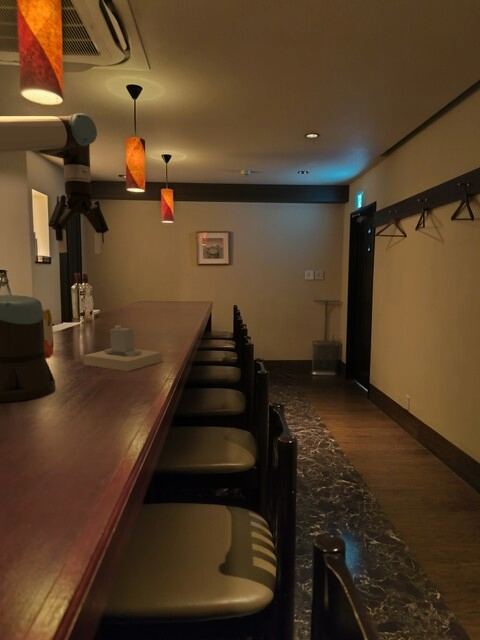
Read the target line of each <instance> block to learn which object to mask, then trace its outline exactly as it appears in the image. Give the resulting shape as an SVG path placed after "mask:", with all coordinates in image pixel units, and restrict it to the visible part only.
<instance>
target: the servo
mask: <svg viewBox="0 0 480 640" xmlns="http://www.w3.org/2000/svg"><path fill="white" fill-rule="evenodd" d="M109 332H110V333H109V335H110V348H106V349H104V351H105V353H111V355H116V356H124V357H126V356H135V355H139V354H141V351H138V350H139V349H137V350H134V349H135V339H134V338H135V337H134V336H135V335H134V328H126V327H122V325H121V324H119V325H117V324H116V325H115V327H114V328H111V329H110V330H109Z"/></svg>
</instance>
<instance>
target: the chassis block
mask: <svg viewBox="0 0 480 640" xmlns="http://www.w3.org/2000/svg"><path fill="white" fill-rule="evenodd" d="M134 350H138V351H141V354H139V355H135V356H126V357H124V356H116V355H111V353H105V350H101V351H97V352H92V353H88V354H87V353H86V354H83V365H84V366H89V365H90V367H96V366H97V367H98V368H103V369H108V370H109V369H111V370H116V371H123V372H131V371H133V370H138V369H142V368H144V367H148V366H151V365H154V364H158V363H161V362H163V358H162V357H163V355H162V354H163V353H162V352H160V351H152V350H145V349H144V350H143V349H135V348H134ZM97 367H96V368H97Z"/></svg>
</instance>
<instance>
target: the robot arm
mask: <svg viewBox="0 0 480 640" xmlns="http://www.w3.org/2000/svg"><path fill="white" fill-rule="evenodd" d="M97 131H98V130H97V127H96V124H95V122H94V120H93V119H92V118H91V117H90V116H89V115H88V114H85V113H82V112H81V113H73V114H71V115H67V116H65V115H64V116H63V115H62V116H60V115H59V116H58V115H57V116H46V115H45V116H44V115H43V116H42V115H41V116H40V115H38V116H27V115H26V116H24V115H23V116H20V115H19V116H12V115H11V116H10V115H9V116H7V115H6V116H4V115H3V116H0V154H5V153H16V152H17V153H18V152H29V151H30V152H34V153H36V154H41V155H45V156H49V157H55V158H59V159H62V162H63V176H64V177H63V179H64V181H65V182H64V192H65V194H60V195H57V196H56V204H55V206H54V209H53V211H52V215H51V217H50V219H49V222H48V227H49V228H52V230H53V231H55V232H54V233H55V240H56V241H57V245H58V246H57V247H58V253H63V254H64V253H68V249H67V248H68V247H67V232H66V229H64V228H65V226H66V225H67V224H68V222H69V220H70V219H71V218H72V216H73V215H74V214H79V215H83V216H84V217H86V219H87V220H88V222H89V223H90V225H91V226H92V228H93V229H94V230H95V233H93V235H94V236H93V237H94V252H95V255H97V254H98V255H101V254H104V248H103V247H104V246H103V245H104V243H105V242H104V241H105V240H104V234H105V233H107V232H109V227H108V225H107V221H106V219H105V217H104V214H103V212H102V209H101V205H100V201H99V200H95V201H92V200H91V196H92V195H93V193H92V190H93V189H92V184H91V182H92V175H91V153H90V151H91V149H90V147H91V144H93V143H94V142H96V139H97V136H98V132H97ZM66 204H67V206H66ZM65 207H66V208H65ZM43 310H44V309H43V306H42V302H41V301H40V300H39V299H38V298H36V297H33V296H28V295H27V296H26V295H18V294H17V295H15V294H13V295H12V294H3V295H2V294H1V295H0V403H10V402H21V401H22V402H23V401H28V400H33V399H37V398H41V397H45V396H47V395H49V394H52V393H53V392H55V390H56V381H55V378H54V375H53V372H52V370H51V368H50V367H49V366H50V365H49V364H48V361H47V357H46V356H45V340H44V324H43V317H44V314H43Z"/></svg>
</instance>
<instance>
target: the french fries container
mask: <svg viewBox="0 0 480 640" xmlns="http://www.w3.org/2000/svg"><path fill="white" fill-rule="evenodd" d="M42 310H43V314H44V317H43V324H44V340H45V356H46V358H50V357H52V355H53V354H54V344H55V343H54V331H53V330H54V329H53V319H52V313H51V309H50V308H46V309H42Z"/></svg>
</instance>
